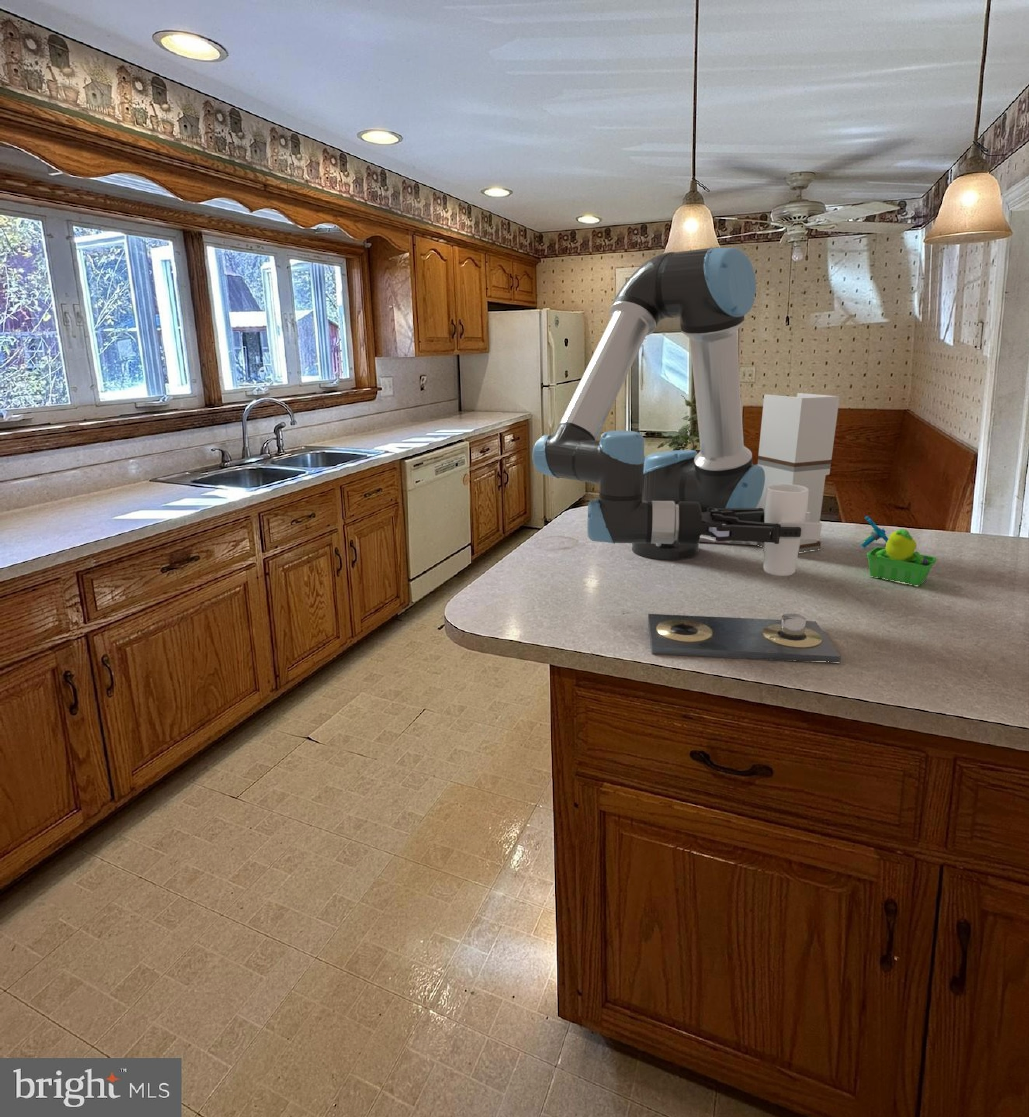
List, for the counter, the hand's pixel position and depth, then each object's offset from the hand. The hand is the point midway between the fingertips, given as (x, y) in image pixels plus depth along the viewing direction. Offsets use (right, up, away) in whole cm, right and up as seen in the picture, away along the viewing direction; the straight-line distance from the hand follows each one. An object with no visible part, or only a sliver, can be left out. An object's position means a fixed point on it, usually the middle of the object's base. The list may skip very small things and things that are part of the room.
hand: (814, 525), depth 120 cm
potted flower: (-3, +2, +62) cm, 62 cm away
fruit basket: (+27, -10, +24) cm, 37 cm away
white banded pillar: (+13, -3, +47) cm, 49 cm away
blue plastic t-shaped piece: (+34, -3, +46) cm, 57 cm away
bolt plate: (-15, -19, -5) cm, 25 cm away
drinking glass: (-5, -8, +3) cm, 10 cm away
